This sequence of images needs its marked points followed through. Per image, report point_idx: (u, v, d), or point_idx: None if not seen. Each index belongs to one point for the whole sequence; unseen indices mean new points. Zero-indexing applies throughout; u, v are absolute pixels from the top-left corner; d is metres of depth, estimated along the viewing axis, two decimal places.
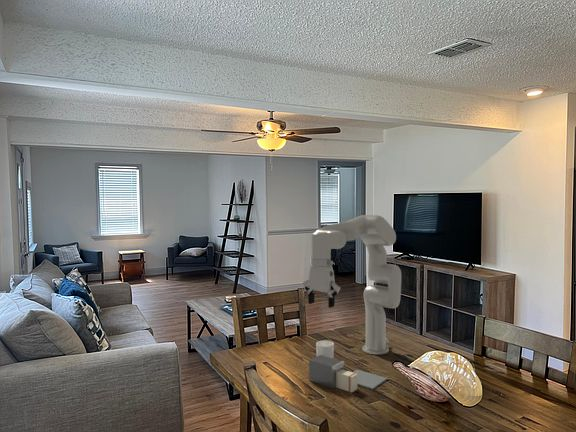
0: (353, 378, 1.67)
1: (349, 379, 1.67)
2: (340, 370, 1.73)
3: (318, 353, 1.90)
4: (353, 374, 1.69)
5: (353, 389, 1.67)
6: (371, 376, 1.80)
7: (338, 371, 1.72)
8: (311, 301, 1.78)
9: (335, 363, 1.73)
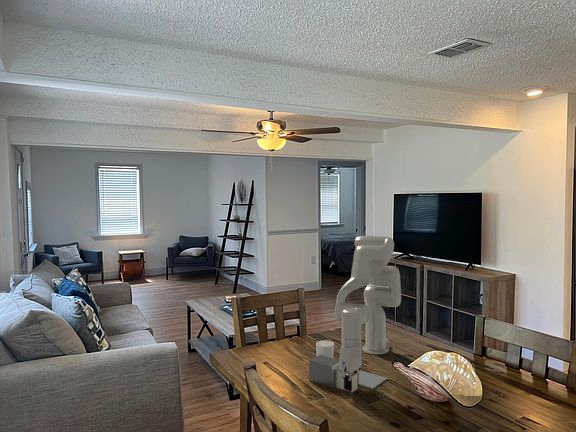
0: (353, 378, 1.67)
1: None
2: None
3: (318, 353, 1.90)
4: (353, 374, 1.69)
5: (353, 389, 1.67)
6: (371, 376, 1.80)
7: (338, 371, 1.72)
8: None
9: (335, 363, 1.73)
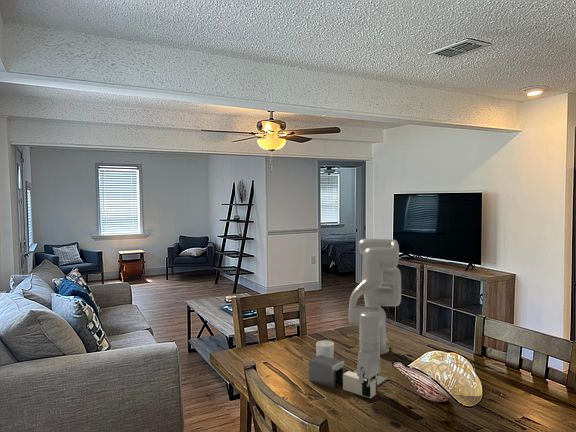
0: (371, 384, 1.62)
1: None
2: None
3: (318, 353, 1.90)
4: (371, 379, 1.63)
5: (371, 395, 1.62)
6: None
7: (356, 376, 1.67)
8: None
9: (335, 363, 1.73)
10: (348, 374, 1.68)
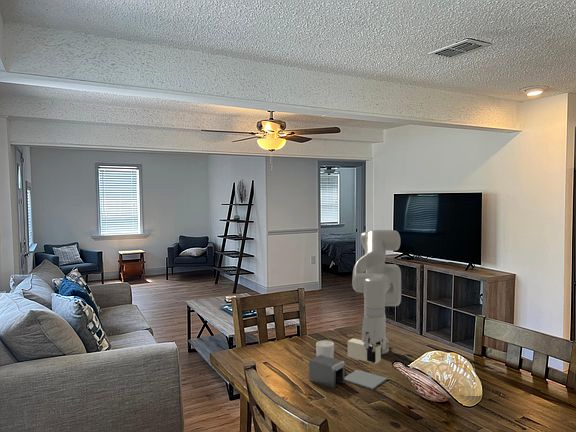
0: (377, 349, 1.60)
1: None
2: (362, 342, 1.66)
3: (318, 353, 1.90)
4: (376, 345, 1.62)
5: (377, 361, 1.61)
6: (371, 376, 1.80)
7: (360, 343, 1.65)
8: None
9: (335, 363, 1.73)
10: (352, 341, 1.66)
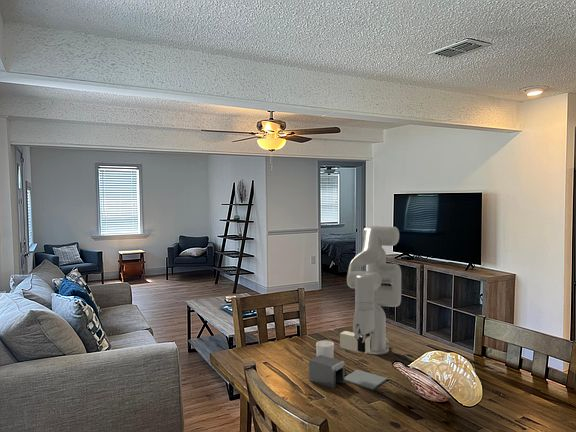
0: (366, 340, 1.75)
1: None
2: (353, 334, 1.81)
3: (318, 353, 1.90)
4: (366, 336, 1.77)
5: (366, 351, 1.75)
6: (371, 376, 1.80)
7: (352, 334, 1.80)
8: None
9: (335, 363, 1.73)
10: (344, 333, 1.81)
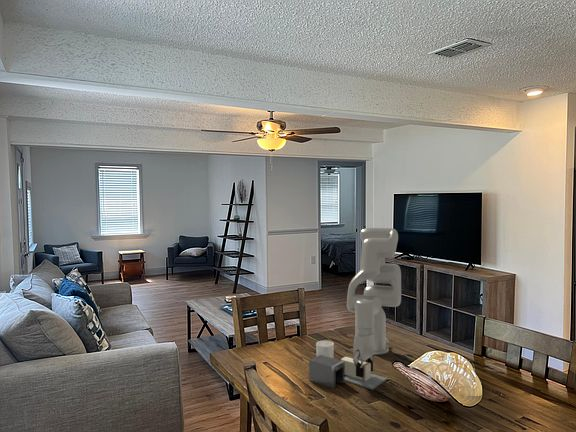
0: (367, 367, 1.76)
1: None
2: None
3: (318, 353, 1.90)
4: (367, 363, 1.77)
5: (367, 378, 1.76)
6: (371, 376, 1.80)
7: (352, 361, 1.80)
8: None
9: (335, 363, 1.73)
10: (345, 359, 1.82)
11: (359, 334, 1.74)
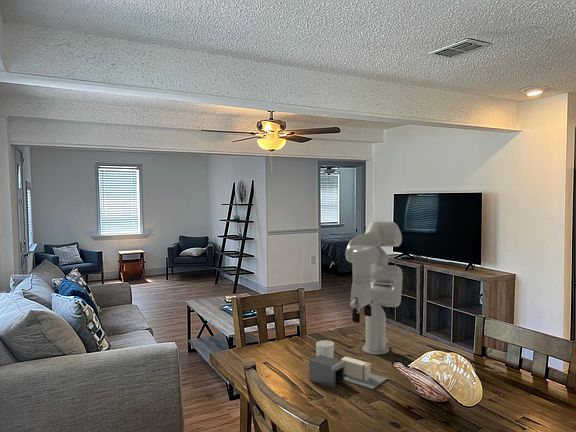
0: (367, 367, 1.76)
1: (363, 368, 1.76)
2: (354, 360, 1.81)
3: (318, 353, 1.90)
4: (367, 363, 1.77)
5: (367, 378, 1.76)
6: (371, 376, 1.80)
7: (352, 361, 1.80)
8: None
9: (335, 363, 1.73)
10: (345, 359, 1.82)
11: (356, 282, 1.78)
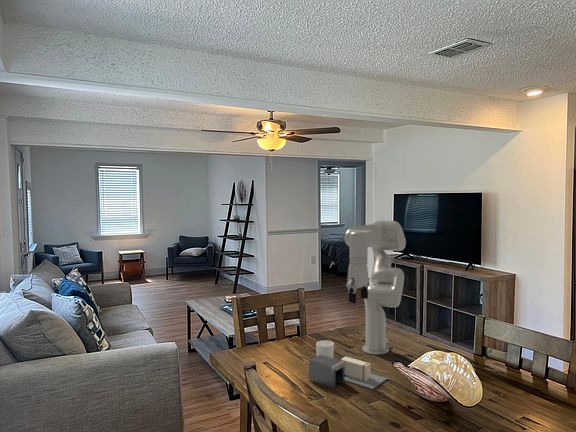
0: (367, 367, 1.76)
1: (363, 368, 1.76)
2: (354, 360, 1.81)
3: (318, 353, 1.90)
4: (367, 363, 1.77)
5: (367, 378, 1.76)
6: (371, 376, 1.80)
7: (352, 361, 1.80)
8: None
9: (335, 363, 1.73)
10: (345, 359, 1.82)
11: (353, 263, 1.83)
